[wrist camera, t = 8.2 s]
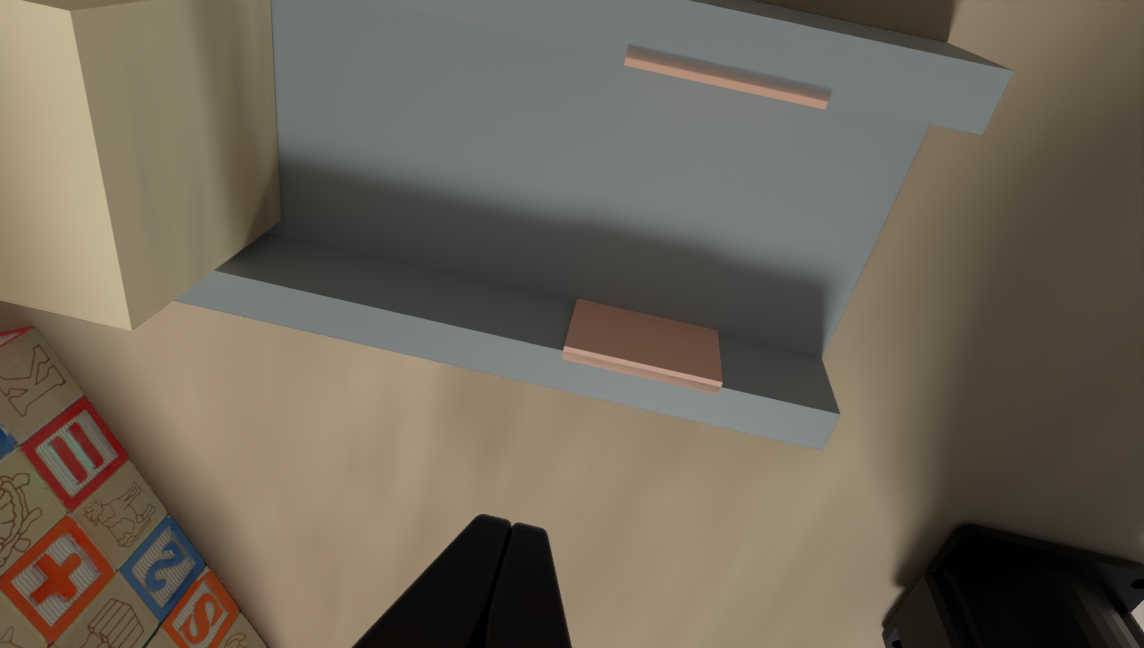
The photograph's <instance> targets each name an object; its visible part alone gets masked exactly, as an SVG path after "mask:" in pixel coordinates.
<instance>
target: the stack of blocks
mask: <svg viewBox="0 0 1144 648" xmlns="http://www.w3.org/2000/svg"><path fill="white" fill-rule="evenodd" d="M0 648H267V647H266V645H265V644H264V642H263V641H262V640H261V638H260V637H259V635H258V634H257V633H256V631H255V630H254V628H253V627H252V625H251V624H250V623H249V621H248V620H247V619H246V618H245V616H244V615H243V614H242V613H241V612H239V610H238V607H237V605H236V604H235V602H234V601H233V599H232V598H231V596H230V595H229V594H228V592H227V591H226V590H225V588H224V587H223V585H222V584H221V582H220V581H219V580H218V578H217V577H216V575H215V574H214V573H213V571H212V570H211V568H210V567H209V566H206V565H205V563H204V561H203V559H202V558H201V556H200V555H199V554H198V552H197V551H196V550H195V548H194V547H193V545H192V544H191V543H190V541H189V540H188V539H187V537H186V536H185V535H184V533H183V532H182V530H181V529H180V528H179V526H178V525H177V523H176V522H175V521H174V519H173V518H172V517H171V516H170V515H169V514H168V513H167V511H166V509H165V508H164V506H163V505H162V503H161V502H160V501H159V499H158V498H157V497H156V495H155V494H154V493H153V491H152V490H151V488H150V487H149V486H148V484H147V483H146V482H145V480H144V479H143V478H142V476H141V475H140V473H139V472H138V471H137V469H136V468H135V466H134V465H133V464H132V462H131V461H130V460H129V457H128V454H127V453H126V452H125V451H124V449H123V448H122V446H121V445H120V443H119V442H118V441H117V439H116V438H115V436H114V435H113V434H112V432H111V431H110V430H109V428H108V427H107V426H106V424H105V423H104V421H103V420H102V418H101V417H100V416H99V414H98V413H97V412H96V410H95V409H94V407H93V406H92V405H91V403H90V402H89V401H88V399H87V398H86V397H85V395H84V394H83V392H82V390H81V389H80V387H79V386H78V385H77V383H76V382H75V380H74V379H73V378H72V376H71V375H70V373H69V372H68V371H67V369H66V368H65V366H64V365H63V364H62V362H61V361H60V360H59V358H58V357H57V355H56V354H55V353H54V351H53V350H52V349H51V347H50V346H49V344H48V343H47V342H46V340H45V339H44V337H43V336H42V335H41V333H40V332H39V331H38V330H37V329H36V328H35V327H29V328H24V329H19V330H14V331H9V332H4V333H0Z"/></svg>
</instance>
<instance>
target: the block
mask: <svg viewBox="0 0 1144 648" xmlns="http://www.w3.org/2000/svg"><path fill="white" fill-rule="evenodd" d="M280 221H281V205H280V185H279V165H278V145H277V124H276V104H275V84H274V63H273V43H272V23H271V3H270V0H0V301H5V302H9V303H13V304H18V305H22V306H26V307H31V308H35V309H39V310H43V311H48V312H52V313H56V314H61V315H65V316H69V317H74V318H78V319H82V320H86V321H91V322H95V323H99V324H104V325H108V326H112V327H117V328H121V329H125V330H130V331H133V330H134V329H135V328H137V327H138V326H139V325H141V324H142V323H143V322H145V321H146V320H148V319H149V318H150V317H152V316H153V315H154V314H156V313H157V312H158V311H160V310H161V309H162V308H164V307H165V306H166V305H168V304H169V303H170V302H172V301H173V300H175V299H176V298H177V297H179V296H180V295H181V294H183V293H184V292H185V291H187V290H188V289H189V288H191V287H192V286H193V285H195V284H196V283H198V282H199V281H200V280H202V279H203V278H204V277H206V276H207V275H208V274H210V273H211V272H212V271H214V270H215V269H216V268H218V267H219V266H221V265H222V264H223V263H225V262H226V261H227V260H229V259H230V258H231V257H233V256H234V255H235V254H237V253H238V252H239V251H241V250H242V249H243V248H245V247H246V246H248V245H249V244H250V243H252V242H253V241H254V240H256V239H257V238H258V237H260V236H261V235H262V234H264V233H265V232H266V231H268V230H269V229H271V228H272V227H273V226H275V225H276V224H277V223H279V222H280Z"/></svg>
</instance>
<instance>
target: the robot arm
mask: <svg viewBox="0 0 1144 648" xmlns="http://www.w3.org/2000/svg"><path fill="white" fill-rule="evenodd" d="M972 539H973V540H972ZM968 540H970V541H968ZM1143 600H1144V564H1140V563H1136V562H1132V561H1127V560H1123V559H1119V558H1115V557H1110V556H1106V555H1102V554H1097V553H1093V552H1089V551H1084V550H1080V549H1076V548H1071V547H1067V546H1063V545H1059V544H1054V543H1050V542H1046V541H1041V540H1037V539H1033V538H1028V537H1024V536H1020V535H1015V534H1011V533H1007V532H1002V531H998V530H994V529H990V528H985V527H981V526H977V525H964V526H961V527H959V528H957V529H956V530H955V531H954V532H953V533H952V534H951V536H950V537H949V538H948V540H947V541H946V543H945V544H944V546H943V547H942V548H941V550H940V551H939V553H938V554H937V556H936V557H935V558H934V560H933V561H932V563H931V564H930V565H929V567H928V568H927V570H926V571H925V573H924V574H923V575H922V577H921V578H920V579H919V581H918V582H917V584H916V585H915V586H914V588H913V589H912V591H911V592H910V594H909V595H908V596H907V598H906V599H905V601H904V602H903V604H902V605H901V606H900V608H899V609H898V611H897V612H896V613H895V615H894V617H893V618H892V619H891V621H890V622H889V624H888V625H887V627H886V628H885V629H884V631H883V633H882V637H883V640H884V644H885V647H886V648H1144V632H1143V630H1142V629H1141V627H1140V626H1139V624H1138V623H1137V621H1136V620H1135V618H1134V617H1133V615H1132V614H1131V612H1132V611H1133V610H1134V609H1135V608H1136V607H1137V606H1138V605H1139V604H1140V603H1141V602H1142V601H1143ZM352 648H572V646H571V641H570V636H569V632H568V627H567V622H566V618H565V613H564V608H563V604H562V599H561V594H560V590H559V585H558V580H557V576H556V571H555V566H554V562H553V557H552V552H551V548H550V543H549V538H548V535H547V532H546V531H545V530H544V529H543V528H540V527H536V526H532V525H528V524H523V523H515V524H514V525H513V526H512V528H511V523H510V522H509V520H507V519H503V518H499V517H494V516H490V515H486V514H480V515H478V516H477V517H475V518H474V519H473V520H472V521H471V522H470V523H469V524H468V526H467V527H466V528H465V529H464V530H463V531H462V532H461V533H460V534H459V535H458V536H457V537H456V538H455V539H454V540H453V541H452V542H451V543H450V544H449V546H448V547H447V548H446V549H445V550H444V551H443V552H442V553H441V554H440V555H439V556H438V557H437V558H436V559H435V560H434V561H433V562H432V563H431V564H430V566H429V567H428V568H427V569H426V570H425V571H424V572H423V573H422V574H421V575H420V576H419V577H418V578H417V579H416V580H415V581H414V582H413V583H412V584H411V585H410V587H409V588H408V589H407V590H406V591H405V592H404V593H403V594H402V595H401V596H400V597H399V598H398V599H397V600H396V601H395V602H394V603H393V604H392V605H391V607H390V608H389V609H388V610H387V611H386V612H385V613H384V614H383V615H382V616H381V617H380V618H379V619H378V620H377V621H376V622H375V623H374V624H373V625H372V626H371V628H370V629H369V630H368V631H367V632H366V633H365V634H364V635H363V636H362V637H361V638H360V639H359V640H358V641H357V642H356V643H355V644H354V645H353V646H352Z"/></svg>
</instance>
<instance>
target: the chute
mask: <svg viewBox="0 0 1144 648" xmlns="http://www.w3.org/2000/svg"><path fill="white" fill-rule="evenodd" d="M270 3H271V23H272V43H273V63H274V84H275V104H276V124H277V145H278V165H279V185H280V205H281V221H280V222H279V223H277V224H276V225H275V226H273V227H272V228H271V229H269V230H268V231H266V232H265V233H264V234H262V235H261V236H260V237H258V238H257V239H256V240H254V241H253V242H252V243H250V244H249V245H248V246H246V247H245V248H243V249H242V250H241V251H239V252H238V253H237V254H235V255H234V256H233V257H231V258H230V259H229V260H227V261H226V262H225V263H223V264H222V265H221V266H219V267H218V268H216V269H215V270H214V271H212V272H211V273H210V274H208V275H207V276H206V277H204V278H203V279H202V280H200V281H199V282H198V283H196V284H195V285H193V286H192V287H191V288H189V289H188V290H187V291H185V292H184V293H183V294H181V295H180V296H179V297H177V298H176V299H175V300H173V301H177V302H181V303H185V304H190V305H194V306H198V307H203V308H207V309H211V310H216V311H220V312H224V313H229V314H233V315H237V316H242V317H246V318H250V319H255V320H259V321H263V322H268V323H272V324H276V325H281V326H285V327H289V328H294V329H298V330H302V331H307V332H311V333H315V334H320V335H324V336H328V337H333V338H337V339H341V340H346V341H350V342H354V343H359V344H363V345H367V346H372V347H376V348H380V349H385V350H389V351H393V352H398V353H402V354H406V355H411V356H415V357H419V358H424V359H428V360H432V361H437V362H441V363H445V364H450V365H454V366H458V367H463V368H467V369H471V370H476V371H480V372H484V373H489V374H493V375H497V376H502V377H506V378H510V379H515V380H519V381H523V382H528V383H532V384H536V385H541V386H545V387H549V388H554V389H558V390H562V391H567V392H571V393H575V394H580V395H584V396H588V397H593V398H597V399H601V400H606V401H610V402H614V403H619V404H623V405H627V406H632V407H636V408H640V409H645V410H649V411H653V412H658V413H662V414H666V415H671V416H675V417H679V418H684V419H688V420H692V421H697V422H701V423H705V424H710V425H714V426H718V427H723V428H727V429H731V430H736V431H740V432H744V433H749V434H753V435H757V436H762V437H766V438H770V439H775V440H779V441H783V442H788V443H792V444H796V445H801V446H805V447H809V448H814V449H818V450H823V448H824V446H825V444H826V442H827V440H828V438H829V436H830V434H831V432H832V430H833V428H834V426H835V424H836V422H837V420H838V418H839V416H840V412H839V409H838V406H837V403H836V400H835V397H834V394H833V391H832V388H831V385H830V382H829V379H828V376H827V373H826V370H825V367H824V364H823V361H822V357H823V355H824V353H825V351H826V349H827V346H828V344H829V342H830V340H831V338H832V336H833V333H834V331H835V329H836V327H837V325H838V323H839V320H840V318H841V316H842V314H843V312H844V310H845V307H846V305H847V303H848V301H849V299H850V297H851V294H852V292H853V290H854V288H855V286H856V284H857V281H858V279H859V277H860V275H861V273H862V271H863V268H864V266H865V264H866V262H867V260H868V258H869V255H870V253H871V251H872V249H873V247H874V245H875V242H876V240H877V238H878V236H879V234H880V232H881V229H882V227H883V225H884V223H885V221H886V219H887V216H888V214H889V212H890V210H891V208H892V206H893V203H894V201H895V199H896V197H897V195H898V193H899V190H900V188H901V186H902V184H903V182H904V180H905V177H906V175H907V173H908V171H909V169H910V167H911V165H912V162H913V160H914V158H915V156H916V154H917V152H918V149H919V147H920V145H921V143H922V141H923V139H924V136H925V134H926V132H927V130H928V128H929V126H930V124H931V125H936V126H940V127H945V128H949V129H954V130H959V131H963V132H968V133H972V134H977V135H981V136H982V134H983V132H984V130H985V128H986V126H987V124H988V122H989V120H990V118H991V116H992V114H993V112H994V110H995V108H996V106H997V104H998V102H999V101H1000V99H1001V97H1002V95H1003V93H1004V91H1005V89H1006V87H1007V85H1008V83H1009V81H1010V79H1011V77H1012V75H1013V73H1014V71H1013V70H1010V69H1008V68H1006V67H1003V66H1001V65H999V64H996V63H994V62H992V61H989V60H987V59H985V58H982V57H980V56H978V55H975V54H973V53H970V52H968V51H966V50H963V49H961V48H959V47H956V46H954V45H952V44H949V43H946V42H941V41H936V40H932V39H927V38H923V37H918V36H913V35H909V34H904V33H900V32H895V31H890V30H886V29H881V28H877V27H872V26H867V25H863V24H858V23H854V22H849V21H844V20H840V19H835V18H831V17H826V16H821V15H817V14H812V13H807V12H803V11H798V10H794V9H789V8H784V7H780V6H775V5H771V4H766V3H761V2H757V1H752V0H270Z"/></svg>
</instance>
